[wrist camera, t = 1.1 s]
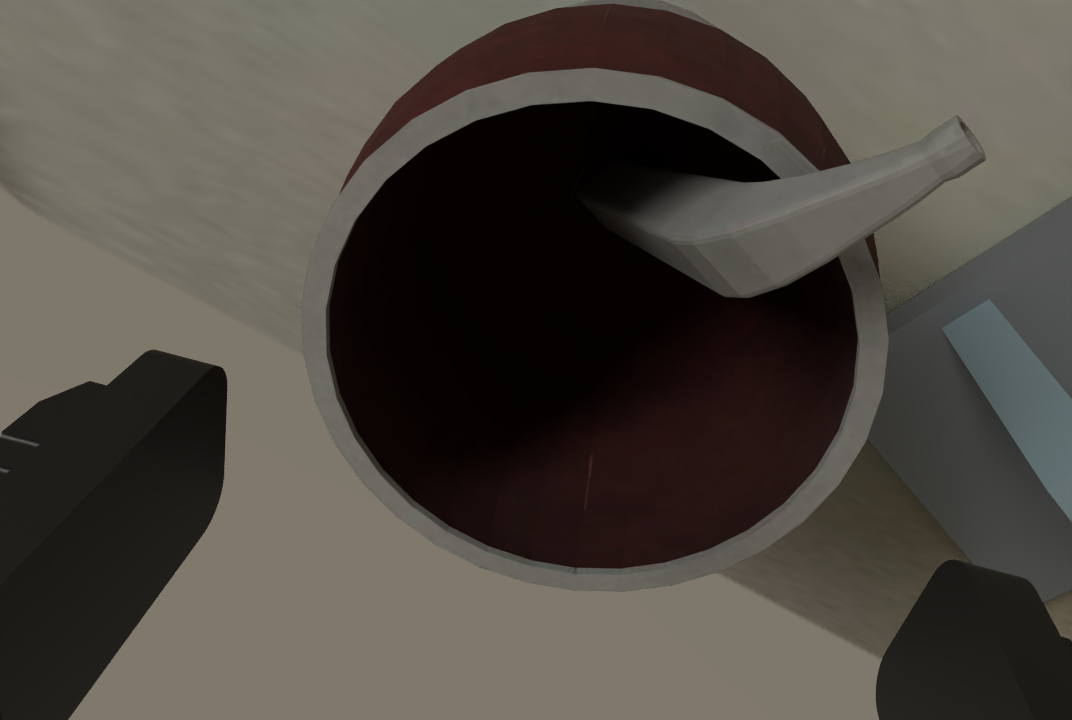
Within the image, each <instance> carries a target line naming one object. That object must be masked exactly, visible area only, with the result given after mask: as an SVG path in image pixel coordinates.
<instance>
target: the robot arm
mask: <svg viewBox="0 0 1072 720" xmlns="http://www.w3.org/2000/svg"><path fill="white" fill-rule="evenodd" d="M226 406H227V378H226V374H225V371H224V370H223V368H221V367H219V366H215V365H212V364H208V363H204V362H200V361H196V360H192V359H189V358H185V357H181V356H177V355H173V354H169V353H166V352H162V351H158V350H150V351H147V352H145V353H144V354H143V355H141V356H140V357H139V358H138V359H137V360H136V361H134V362H133V363H132V364H131V365H130V366H129V367H128V368H127V369H125V370H124V371H123V372H122V373H121V374H120V375H118V376H117V377H116V378H115V379H114V380H113V381H112V382H110V383H109V384H108V385H107V386H106V385H103V384H99V383H94V382H91V381H89V382H86V383H84V384H81V385H79V386H76V387H74V388H72V389H69V390H66V391H64V392H62V393H59V394H57V395H54V396H52V397H49V398H47V399H44V400H42V401H39V402H38V403H37V404H36V405H34V406H33V407H32V408H31V409H29V410H28V411H27V412H26V413H25V414H23V415H22V416H21V417H19V418H18V419H17V420H16V421H15V422H13V423H12V424H11V425H10V426H8V427H7V428H6V429H5V430H3V431H2V434H1V437H0V720H68V719H69V717H70V716H71V715H72V713H73V712H74V711H75V709H76V708H77V707H78V705H79V704H80V703H81V701H82V700H83V698H84V697H85V696H86V694H87V693H88V692H89V690H90V689H91V687H92V686H93V684H94V683H95V682H96V681H97V679H98V678H99V676H100V675H101V674H102V672H103V671H104V669H105V668H106V667H107V665H108V664H109V663H110V661H111V660H112V659H113V657H114V656H115V654H116V653H117V652H118V650H119V649H120V648H121V646H122V645H123V643H124V642H125V641H126V639H127V638H128V637H129V635H130V634H131V633H132V631H133V630H134V628H135V627H136V626H137V624H138V623H139V622H140V620H141V619H142V617H143V616H144V615H145V613H146V612H147V610H148V609H149V608H150V606H151V605H152V604H153V602H154V601H155V600H156V598H157V597H158V595H159V594H160V593H161V591H162V590H163V589H164V587H165V586H166V584H167V583H168V582H169V580H170V579H171V578H172V576H173V575H174V573H175V572H176V571H177V569H178V568H179V567H180V565H181V564H182V562H183V561H184V560H185V558H186V557H187V556H188V554H189V553H190V552H191V550H192V549H193V547H194V546H195V545H196V543H197V542H198V540H199V539H200V538H201V536H202V535H203V533H204V532H205V531H206V529H207V527H208V525H209V524H210V522H211V520H212V518H213V515H214V513H215V510H216V508H217V505H218V502H219V499H220V495H221V491H222V487H223V480H224V461H225V433H226ZM876 705H877V712H878V716H879V720H1072V641H1071V640H1070V639H1068V638H1064V637H1061V636H1060V634H1059V632H1058V630H1057V628H1056V627H1055V625H1054V623H1053V621H1052V619H1051V617H1050V615H1049V613H1048V611H1047V609H1046V608H1045V606H1044V604H1043V602H1042V600H1041V598H1040V596H1039V594H1038V592H1037V591H1036V589H1035V587H1034V586H1033V585H1032V584H1031V583H1030V582H1029V581H1028V580H1027V579H1025V578H1023V577H1019V576H1015V575H1012V574H1008V573H1004V572H1000V571H996V570H992V569H989V568H985V567H981V566H977V565H973V564H969V563H965V562H962V561H958V560H949V561H946V562H944V563H943V564H942V565H940V567H939V568H938V569H937V570H936V571H935V573H934V574H933V576H932V577H931V579H930V581H929V582H928V584H927V585H926V587H925V589H924V590H923V592H922V594H921V595H920V597H919V598H918V600H917V602H916V603H915V605H914V607H913V608H912V610H911V612H910V613H909V615H908V616H907V618H906V620H905V621H904V623H903V625H902V626H901V628H900V629H899V631H898V633H897V634H896V636H895V638H894V639H893V641H892V642H891V644H890V646H889V647H888V649H887V651H886V653H885V654H884V656H883V659H882V661H881V664H880V668H879V672H878V677H877V684H876Z"/></svg>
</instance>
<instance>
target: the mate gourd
mask: <svg viewBox="0 0 1072 720" xmlns="http://www.w3.org/2000/svg"><path fill="white" fill-rule="evenodd" d="M985 160H986V157H985V153H984V151H983V149H982V147H981V145H980V144H979V142H978V140H977V139H976V137H975V136H974V135H973V133H972V132H971V130H970V129H969V128H968V127H967V125H966V124H965V123H964V122H963V120H962V119H961V118H960V117H959V116H955V117H954V118H952V119H950V120H949V121H947V122H946V123H944V124H942V125H941V126H939V127H938V128H936V129H934V130H933V131H931V132H930V133H929V134H928V135H927V136H926V137H925V138H924V139H922V140H921V141H920V142H917V143H914V144H911V145H908V146H905V147H903V148H900V149H897V150H894V151H890V152H887V153H884V154H881V155H878V156H874V157H871V158H868V159H864V160H861V161H858V162H855V163H850V161H849V160H848V158H847V157H846V155H845V154H844V152H843V151H842V149H841V148H840V146H839V145H838V143H837V141H836V140H835V138H834V137H833V135H832V134H831V132H830V131H829V129H828V128H827V126H826V125H825V123H824V121H823V120H822V118H821V117H820V115H819V114H818V113H817V111H816V110H815V109H814V107H813V106H812V105H811V103H810V102H809V100H808V99H807V98H806V96H805V95H804V94H803V93H802V92H801V91H800V90H799V89H798V88H797V87H796V86H795V85H794V84H793V83H792V82H791V81H790V80H788V79H787V78H786V77H785V76H784V75H783V74H782V73H781V72H780V71H779V70H778V69H777V68H776V67H775V66H774V65H773V64H772V63H771V62H770V61H769V60H768V59H767V58H766V57H764V56H762V55H761V54H759V53H758V52H756V51H754V50H753V49H751V48H750V47H748V46H746V45H745V44H743V43H741V42H740V41H738V40H737V39H735V38H733V37H732V36H730V35H729V34H727V33H725V32H724V31H722V30H720V29H719V28H717V27H715V26H714V25H712V24H710V23H709V22H707V21H706V20H704V19H702V18H701V17H699V16H698V15H696V14H694V13H693V12H691V11H688V10H685V9H683V8H680V7H677V6H674V5H671V4H668V3H666V2H663V1H660V0H589V1H586V2H582V3H579V4H576V5H573V6H569V7H564V8H556V9H552V10H549V11H546V12H543V13H539V14H536V15H533V16H529V17H526V18H523V19H520V20H516V21H513V22H510V23H506V24H504V25H502V26H500V27H499V28H497V29H495V30H493V31H491V32H490V33H488V34H486V35H484V36H482V37H481V38H479V39H477V40H475V41H474V42H472V43H470V44H468V45H466V46H465V47H463V48H461V49H459V50H458V51H456V52H455V53H454V54H452V55H451V56H449V57H448V58H447V59H445V60H444V61H442V62H441V63H440V64H438V65H437V66H436V67H435V68H434V69H432V70H431V71H430V72H429V73H428V74H427V75H426V76H425V77H423V78H422V79H421V80H420V81H419V82H418V83H417V84H415V85H414V86H413V87H412V88H411V89H410V90H409V91H408V92H406V93H405V94H404V95H403V96H402V97H401V98H400V99H398V100H397V101H396V102H395V104H394V105H393V106H392V108H391V109H390V110H389V112H388V113H387V114H386V116H385V117H384V119H383V120H382V121H381V123H380V124H379V125H378V127H377V128H376V130H375V131H374V132H373V134H372V135H371V136H370V138H369V139H368V141H367V142H366V143H365V145H364V146H363V148H362V150H361V152H360V154H359V155H358V157H357V159H356V161H355V163H354V165H353V166H352V168H351V170H350V172H349V174H348V175H347V178H346V180H345V182H344V184H343V187H342V189H341V191H340V194H339V196H338V197H337V199H336V200H335V201H334V203H333V204H332V205H331V208H330V210H329V212H328V215H327V217H326V219H325V222H324V224H323V226H322V229H321V231H320V233H319V235H318V238H317V240H316V242H315V245H314V247H313V249H312V252H311V254H310V260H309V265H308V270H307V276H306V281H305V286H304V292H303V297H302V302H301V310H302V340H303V355H304V359H305V363H306V367H307V372H308V375H309V380H310V384H311V388H312V392H313V396H314V400H315V402H316V405H317V407H318V409H319V411H320V413H321V415H322V417H323V420H324V422H325V424H326V426H327V428H328V430H329V432H330V434H331V437H332V439H333V441H334V443H335V445H336V446H337V448H338V449H339V450H340V452H341V453H342V455H343V456H344V458H345V459H346V460H347V462H348V463H349V465H350V466H351V467H352V469H353V470H354V472H355V473H356V474H357V476H358V477H359V479H360V480H361V481H362V483H363V484H364V485H365V486H366V487H367V488H368V489H369V490H370V491H371V492H372V493H373V494H374V495H375V496H376V497H377V498H378V499H379V500H380V501H381V502H382V503H383V504H384V505H385V506H386V507H387V508H388V509H389V510H390V511H391V512H392V513H393V514H394V515H395V516H396V517H397V518H399V519H400V520H402V521H403V522H405V523H406V524H407V525H409V526H410V527H411V528H413V529H414V530H416V531H417V532H419V533H420V534H421V535H423V536H424V537H425V538H427V539H428V540H430V541H431V542H432V543H434V544H435V545H437V546H439V547H441V548H443V549H445V550H447V551H449V552H451V553H453V554H455V555H457V556H459V557H461V558H463V559H465V560H467V561H469V562H471V563H473V564H475V565H476V566H478V567H481V568H484V569H487V570H490V571H493V572H496V573H499V574H502V575H505V576H508V577H511V578H514V579H517V580H521V581H524V582H527V583H533V584H539V585H545V586H551V587H556V588H563V589H568V590H574V591H615V592H625V591H632V590H640V589H648V588H656V587H664V586H672V585H675V584H679V583H682V582H686V581H689V580H692V579H696V578H699V577H702V576H706V575H710V574H713V573H717V572H720V571H722V570H724V569H726V568H728V567H730V566H732V565H734V564H736V563H738V562H741V561H743V560H745V559H747V558H749V557H751V556H753V555H755V554H757V553H759V552H761V551H764V550H765V549H766V548H768V547H769V546H771V545H772V544H773V543H775V542H776V541H778V540H779V539H780V538H782V537H783V536H785V535H786V534H787V533H789V532H790V531H792V530H793V529H794V528H796V527H797V526H798V525H800V524H801V523H803V522H804V521H805V520H806V519H807V518H808V517H809V516H810V515H811V514H812V513H813V512H814V511H815V510H816V509H817V507H818V506H819V505H820V504H821V503H822V502H823V501H824V500H825V499H826V498H827V497H828V496H829V495H830V494H831V493H832V492H833V491H834V490H835V489H836V487H837V486H838V485H839V484H840V482H841V481H842V479H843V478H844V476H845V474H846V473H847V471H848V469H849V468H850V466H851V465H852V463H853V461H854V460H855V458H856V457H857V455H858V453H859V452H860V450H861V449H862V447H863V445H864V444H865V442H866V439H867V437H868V434H869V431H870V428H871V425H872V422H873V420H874V417H875V414H876V411H877V408H878V406H879V403H880V400H881V397H882V394H883V387H884V378H885V370H886V361H887V352H888V343H889V338H888V330H887V322H886V314H885V305H884V297H883V289H882V284H881V281H880V275H879V266H878V258H877V251H876V245H875V239H874V234H873V233H874V232H875V231H877V230H878V229H880V228H881V227H883V226H884V225H886V224H887V223H889V222H890V221H892V220H893V219H895V218H896V217H898V216H900V215H901V214H903V213H904V212H906V211H907V210H909V209H910V208H911V207H913V206H914V205H916V204H917V203H918V202H920V201H921V200H922V199H924V198H925V197H926V196H928V195H929V194H930V193H932V192H933V191H934V190H935V189H937V188H938V187H939V186H940V185H942V184H943V183H944V182H946V181H949V180H952V179H955V178H958V177H960V176H962V175H963V174H965V173H967V172H968V171H970V170H971V169H973V168H974V167H976V166H977V165H979V164H980V163H982V162H984V161H985Z"/></svg>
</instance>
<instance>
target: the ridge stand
mask: <svg viewBox="0 0 1072 720" xmlns="http://www.w3.org/2000/svg"><path fill="white" fill-rule="evenodd" d="M886 322H887V330H888V338H889V343H888V352H887V361H886V370H885V378H884V387H883V394H882V397H881V400H880V403H879V406H878V408H877V411H876V414H875V417H874V420H873V422H872V425H871V428H870V431H869V434H868V437H867V440H868V441H869V442H870V443H871V444H872V445H873V447H874V448H875V449H876V450H877V451H878V453H879V454H880V455H881V456H882V457H883V458H884V460H885V461H886V462H887V463H888V464H889V466H890V467H891V468H892V469H893V470H894V472H895V473H896V474H897V475H898V476H899V477H900V479H901V480H902V481H903V482H904V483H905V485H906V486H907V487H908V488H909V489H910V490H911V492H912V493H913V494H914V495H915V496H916V498H917V499H918V500H919V501H920V502H921V503H922V505H923V506H924V507H925V508H926V509H927V511H928V512H929V513H930V514H931V515H932V517H933V518H934V519H935V520H936V521H937V522H938V524H939V525H940V526H941V527H942V528H943V530H944V531H945V532H946V533H947V534H948V535H949V537H950V538H951V539H952V540H953V541H954V543H955V544H956V545H957V546H958V547H959V548H960V550H961V551H962V552H963V553H964V554H965V556H966V557H967V558H968V559H969V560H970V562H971V563H972V564H973V565H977V566H981V567H985V568H989V569H992V570H996V571H1000V572H1004V573H1008V574H1012V575H1015V576H1019V577H1023V578H1025V579H1027V580H1028V581H1029V582H1030V583H1031V584H1032V585H1033V586H1034V587H1035V589H1036V591H1037V592H1038V594H1039V596H1040V598H1041V600H1042V602H1043V603H1044V602H1046V601H1048V600H1050V599H1053V598H1055V597H1057V596H1059V595H1062V594H1064V593H1066V592H1068V591H1071V590H1072V197H1071V198H1070V199H1068V200H1066V201H1065V202H1063V203H1062V204H1060V205H1059V206H1057V207H1055V208H1054V209H1052V210H1051V211H1049V212H1047V213H1046V214H1044V215H1043V216H1041V217H1040V218H1038V219H1036V220H1035V221H1033V222H1032V223H1030V224H1029V225H1027V226H1025V227H1024V228H1022V229H1021V230H1019V231H1018V232H1016V233H1014V234H1013V235H1011V236H1010V237H1008V238H1006V239H1005V240H1003V241H1002V242H1000V243H999V244H997V245H995V246H994V247H992V248H991V249H989V250H988V251H986V252H984V253H983V254H981V255H980V256H978V257H977V258H975V259H973V260H972V261H970V262H969V263H967V264H965V265H964V266H962V267H961V268H959V269H958V270H956V271H954V272H953V273H951V274H950V275H948V276H947V277H945V278H943V279H942V280H940V281H939V282H937V283H936V284H934V285H932V286H931V287H929V288H928V289H926V290H924V291H923V292H921V293H920V294H918V295H917V296H915V297H913V298H912V299H910V300H909V301H907V302H906V303H904V304H902V305H901V306H899V307H898V308H896V309H894V310H893V311H891V312H890V313H888V314H887V315H886Z"/></svg>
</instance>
